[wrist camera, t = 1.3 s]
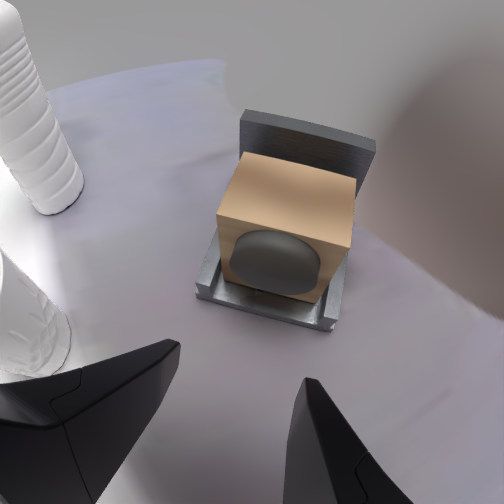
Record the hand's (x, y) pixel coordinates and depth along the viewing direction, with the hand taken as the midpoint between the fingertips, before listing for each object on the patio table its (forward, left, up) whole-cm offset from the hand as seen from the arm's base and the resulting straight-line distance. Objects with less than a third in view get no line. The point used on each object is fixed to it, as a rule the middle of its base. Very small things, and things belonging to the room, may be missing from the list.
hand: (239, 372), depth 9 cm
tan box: (+7, -7, -11) cm, 15 cm away
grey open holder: (+9, -9, -13) cm, 18 cm away
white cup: (+11, +13, -13) cm, 21 cm away
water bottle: (+26, +9, -13) cm, 30 cm away
